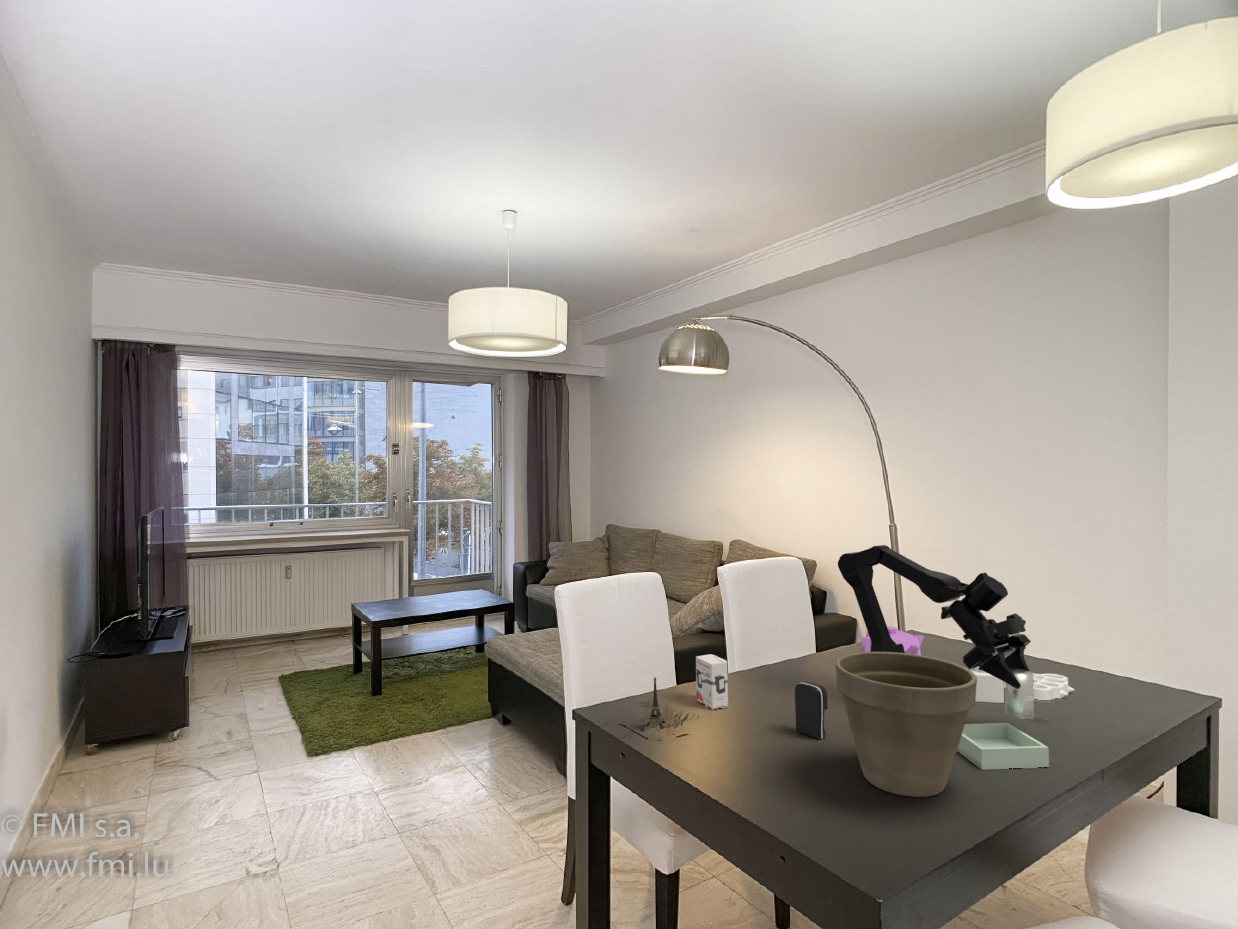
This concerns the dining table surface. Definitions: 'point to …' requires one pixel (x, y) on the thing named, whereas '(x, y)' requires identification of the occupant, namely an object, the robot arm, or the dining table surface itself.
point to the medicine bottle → (988, 687)
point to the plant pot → (905, 717)
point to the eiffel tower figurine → (656, 717)
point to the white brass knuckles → (1050, 686)
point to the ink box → (711, 680)
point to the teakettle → (897, 641)
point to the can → (1021, 696)
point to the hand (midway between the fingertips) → (1025, 685)
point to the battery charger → (810, 709)
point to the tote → (1001, 747)
